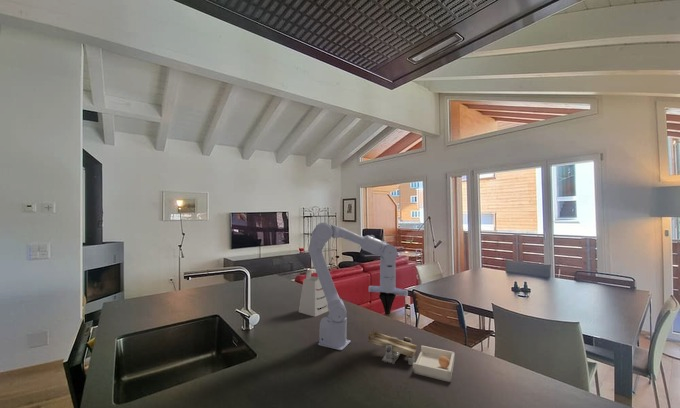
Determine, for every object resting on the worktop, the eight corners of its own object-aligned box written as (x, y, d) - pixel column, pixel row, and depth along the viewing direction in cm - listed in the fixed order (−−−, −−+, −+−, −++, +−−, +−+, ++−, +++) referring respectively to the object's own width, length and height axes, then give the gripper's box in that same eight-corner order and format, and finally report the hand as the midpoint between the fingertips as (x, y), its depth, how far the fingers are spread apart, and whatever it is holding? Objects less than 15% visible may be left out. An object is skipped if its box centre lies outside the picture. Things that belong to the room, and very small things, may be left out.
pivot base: (382, 361, 92) (382, 345, 92) (389, 350, 99) (389, 335, 100) (410, 368, 88) (410, 351, 88) (416, 356, 95) (416, 340, 95)
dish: (413, 373, 85) (413, 363, 85) (421, 353, 97) (421, 345, 97) (450, 382, 80) (450, 372, 80) (454, 360, 92) (454, 352, 92)
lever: (367, 341, 96) (368, 333, 96) (378, 330, 106) (379, 322, 106) (413, 357, 89) (414, 348, 89) (419, 343, 99) (420, 335, 99)
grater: (312, 306, 147) (313, 267, 148) (329, 310, 141) (329, 269, 141) (298, 312, 138) (299, 270, 139) (315, 316, 132) (315, 272, 133)
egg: (436, 358, 87) (447, 358, 86) (438, 354, 90) (448, 354, 89) (439, 369, 87) (450, 369, 85) (440, 365, 89) (451, 364, 88)
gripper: (409, 276, 107) (409, 313, 106) (372, 272, 113) (372, 307, 113) (405, 280, 101) (405, 319, 100) (366, 275, 107) (366, 312, 106)
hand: (387, 313), depth 106 cm, fingers closed
